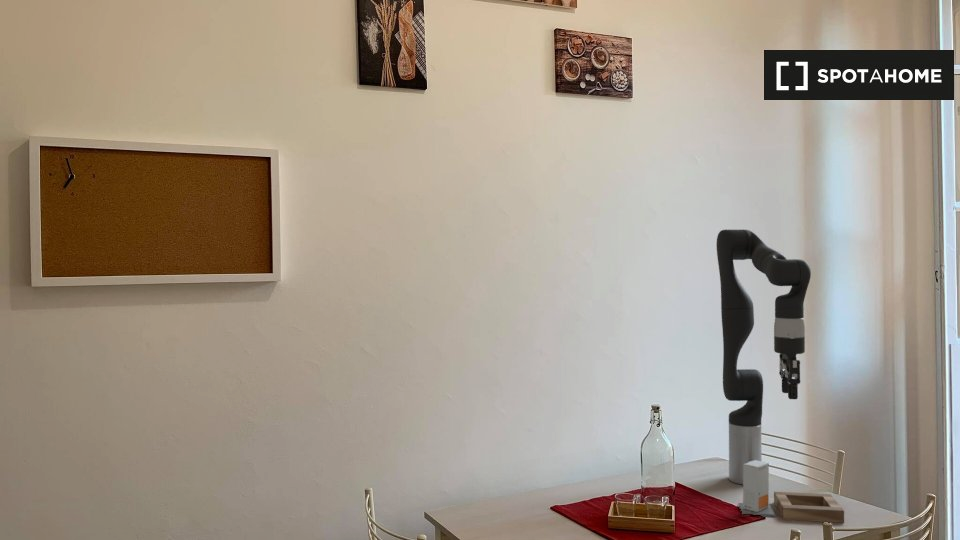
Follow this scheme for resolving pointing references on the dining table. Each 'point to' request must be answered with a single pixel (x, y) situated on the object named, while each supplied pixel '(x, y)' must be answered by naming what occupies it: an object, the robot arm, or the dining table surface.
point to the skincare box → (755, 485)
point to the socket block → (808, 507)
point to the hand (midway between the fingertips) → (789, 395)
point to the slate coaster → (763, 512)
